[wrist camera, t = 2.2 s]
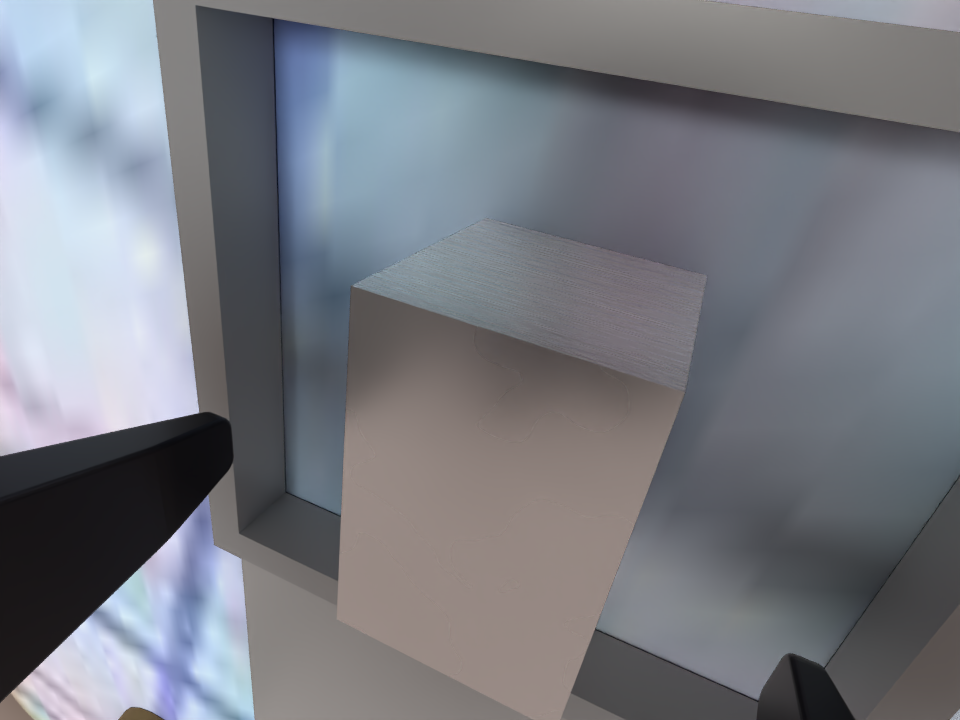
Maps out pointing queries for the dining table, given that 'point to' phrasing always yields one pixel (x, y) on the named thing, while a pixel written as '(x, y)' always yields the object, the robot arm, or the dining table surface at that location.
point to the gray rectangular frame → (258, 356)
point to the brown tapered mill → (138, 715)
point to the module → (504, 449)
